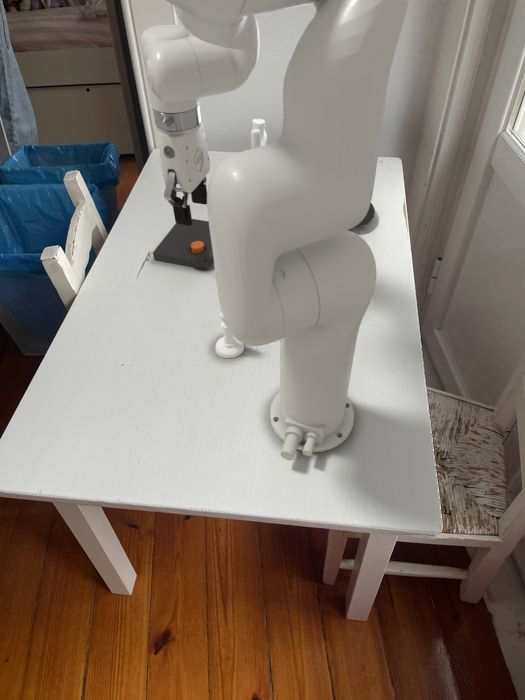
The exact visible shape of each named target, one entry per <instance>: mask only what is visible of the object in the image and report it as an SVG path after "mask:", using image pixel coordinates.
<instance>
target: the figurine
mask: <svg viewBox="0 0 525 700" xmlns="http://www.w3.org/2000/svg"><path fill="white" fill-rule="evenodd" d="M251 123H252V125H251V127H252V130H251V131H250V147H251V148H250V149H253V148H257V147H261V146H265V145H268V141H267V140H268V135H267V131H266V129H265V128H266V121H265V119H262V118H253V119H252V120H251Z"/></svg>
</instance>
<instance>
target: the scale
mask: <svg viewBox="0 0 525 700" xmlns="http://www.w3.org/2000/svg"><path fill="white" fill-rule="evenodd" d="M195 241H201V242H203V243H204V252H202V253H198V254H196V253H193V252H192V250H191V244H192V243H193V242H195ZM152 255H153V260H154V261H155V262H160V263H166V264H167V263H168V264H171V265H177V266H183V267H188V268H193V269H199V270H204V271H209V269H210V267H211V266H212V264H213V263H214V258H213V251H212V243H211V236H210V228H209V221H208V220H203V219H196V218H192V225H191V226H188V225H182V224H177V223H176V222H175V223H174V225H173V226H172V227H171V229H170V230H169V232H168V233H167V234H166V235H165V236H164V237H163V239H162V240H161V241H160V243H159V244H158V245H157V247H155V249H154V250H153V252H152Z"/></svg>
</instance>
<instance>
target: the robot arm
mask: <svg viewBox="0 0 525 700" xmlns="http://www.w3.org/2000/svg"><path fill="white" fill-rule="evenodd" d="M165 1H166V2H167V3H170V4H171V5H173V8H174V11H175V13H176V16H177V18H178V20H179V21H180V23H181V25H179V24H173V23H172V24H171V23H170V24H158V25H154V26H151V27H147V28H146V29H145V30H144V31H143V32H142V34H141V37H140V48H141V53H142V58H143V64H144V70H145V74H146V79H147V86H148V90H149V95H150V96H149V97H150V100H151V105H152V111H153V117H154V123H155V129H156V130H157V132H158V146H159V156H160V157H159V158H160V164H161V171H162V177H163V181H164V185H165V189H164V193H163V198H164V199H165V200H166V201H167V202H168V203H169V205H170V206H171V207H172V210H173V216H174V221H175V224H176V223H177V224H182V225H188V226H191V225H192V219H193V218H192V211H191V205H190V204H188V200H189V199H188V198H189V194H190V198H191V202H192V203H193V204H199V205H206V210H207V221H209V228H210V236H211V243H212V251H213V258H214V261H213V266H214V272H215V273H214V274H215V281H216V288H217V293H218V302H219V305H220V306H219V307H220V308H221V310H222V314H223V317H224V320H225V322H226V325H227V327H228V329H229V330H230V332H231V333H232V335H233V336H234V337H235V338H236V339H237V340H238V341H240V342H241V343H243V344H244V346H245V345H246V346H250V347H262V346H266V345H269V344H273V343H276V342H277V341H279V388H280V389H279V391H278V393H277V394H276V395H275V396H274V398H273V399H272V401H271V405H270V408H269V420H270V425H271V427H272V430H273V431H274V433H275V435H276V436H277V438H279V440H281V441H282V442H283V445H282V448H281V451H280V457H281V458H282V459H284V460H287V461H293V460H294V459H295V456H296V453H297V450H298V451H302V455H304V456H305V457H312V456H313V454H314V453H321V452H326V451H329V450H332V449H335V448H336V447H338V446H340V445H341V444H342V443H344V442H345V441H346V440H347V438H348V437H349V436H350V434H351V432H352V430H353V427H354V423H355V409H354V407H353V404H352V402H351V400H350V399H349V397H348V393H349V386H350V382H351V381H350V380H351V376H352V375H351V373H352V368H353V362H354V356H355V352H356V345H357V340H358V335H359V331H360V327H361V324H362V321H363V319H364V316H365V314H366V312H367V310H368V308H369V305H370V303H371V300H372V298H373V295H374V291H375V287H376V282H377V264H376V259H375V256H374V253H373V251H372V249H371V247H370V246H369V244H368V243H367V241H366V240H365V239H364V238H363V237H362V236H360V235H359V234H357V233H355V232H354V231H350V230H351V229H353V228H356V227H355V226H356V225H358V224H359V223H360V222H361V221H362V220H363V219H364V217H365V216H366V214H367V212H368V210H369V207H370V203H372V199H373V193H374V188H375V181H376V174H377V166H378V159H379V152H380V145H381V139H382V130H383V125H384V124H383V123H384V116H385V107H386V99H387V97H386V96H387V90H388V86H389V85H388V84H389V78H390V73H391V70H392V66H393V62H394V58H395V54H396V50H397V46H398V43H399V39H400V36H401V32H402V29H403V25H404V21H405V18H406V14H407V10H408V5H409V1H410V0H165ZM308 5H313V6H314V7H315V13H314V15H313V16H312V18H311V19H310V21H309V22H308V24H307V26H306V27H305V29H304V30H303V32H302V34H301V36H300V38H299V40H298V42H297V43H296V45H295V48H294V51H293V53H292V56H291V58H290V60H289V61H288V65H287V68H286V70H285V74H284V78H283V86H282V105H283V106H282V109H283V114H282V129H281V132H280V135H279V137H278V138H277V140H275V141H274V142H272V143H267V145H265V146H261V147H257V148H253V149H252V148H250V149H246V150H243V151H240V152H236V153H234V154H232V155H230V156H227V157H226V158H224V159H223V160H222V161H220V162H219V163H218V164H217V165H216V166H215V168H214V169H213V171H212V173H211V175H210V178H209V181H208V184H207V179H208V178H207V175H208V174H209V172H210V170H211V162H210V161H211V160H210V154H209V148H208V143H207V138H206V133H205V132H206V131H205V127H204V124H203V120H202V113H201V104H200V98H205V97H211V96H215V95H216V96H217V95H220V94H226V93H230V92H233V91H235V90H237V89H240V88H241V87H242V86H243V85H245V83H246V82H247V81H248V79H249V78H250V76H251V74H252V72H253V71H254V69H255V67H256V65H257V64H258V61H259V56H260V47H261V46H260V45H261V44H260V41H261V40H260V29H259V28H260V27H259V24H258V20H257V19H258V18H257V17H256V15H259V14H264V13H265V14H266V13H271V12H277V11H283V10H288V9H291V8H298V7H301V6H303V7H304V6H308ZM177 185H178V186H179V187H177ZM177 193H181V197H179V196H177V195H178V194H177Z"/></svg>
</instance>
